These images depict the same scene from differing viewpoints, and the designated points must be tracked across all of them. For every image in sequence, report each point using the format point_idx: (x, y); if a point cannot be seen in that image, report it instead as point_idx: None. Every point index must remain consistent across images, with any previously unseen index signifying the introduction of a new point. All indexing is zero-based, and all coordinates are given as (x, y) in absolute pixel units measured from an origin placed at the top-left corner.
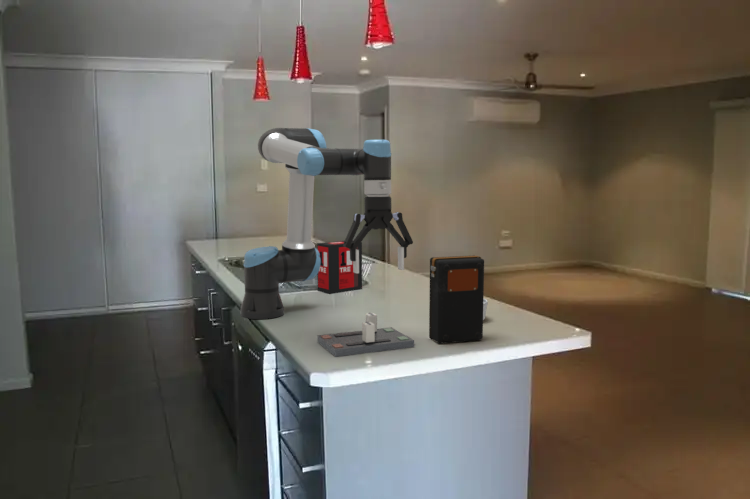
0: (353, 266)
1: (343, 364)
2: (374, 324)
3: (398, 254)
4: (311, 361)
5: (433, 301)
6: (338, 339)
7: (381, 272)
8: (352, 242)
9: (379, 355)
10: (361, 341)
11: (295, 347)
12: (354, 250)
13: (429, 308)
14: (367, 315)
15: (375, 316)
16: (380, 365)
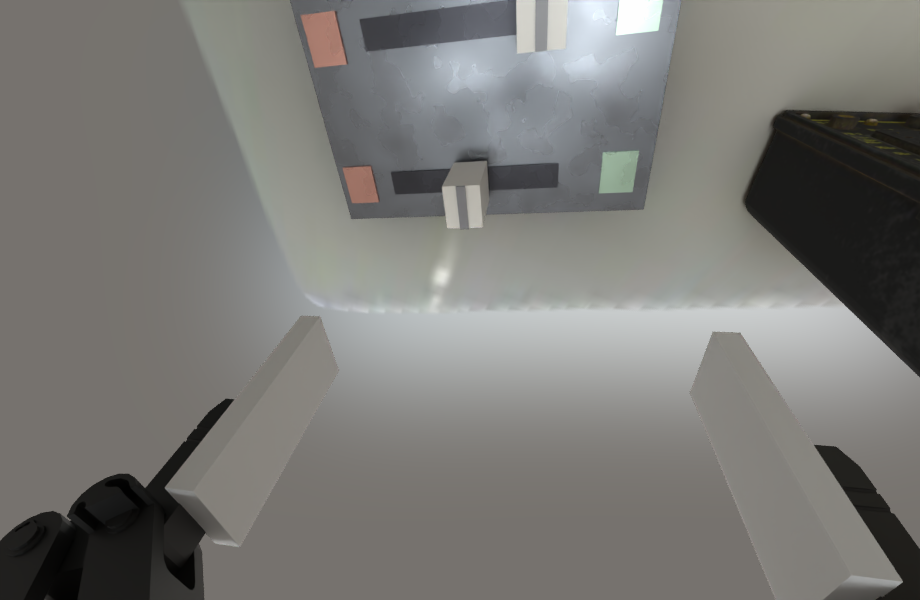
0: (278, 350)
1: (374, 273)
2: (482, 227)
3: (774, 473)
4: (293, 223)
5: (874, 225)
6: (372, 97)
7: None
8: (90, 593)
9: (488, 240)
10: (452, 157)
11: (223, 49)
12: (198, 525)
13: (863, 156)
14: (516, 21)
15: (555, 49)
16: (462, 310)
